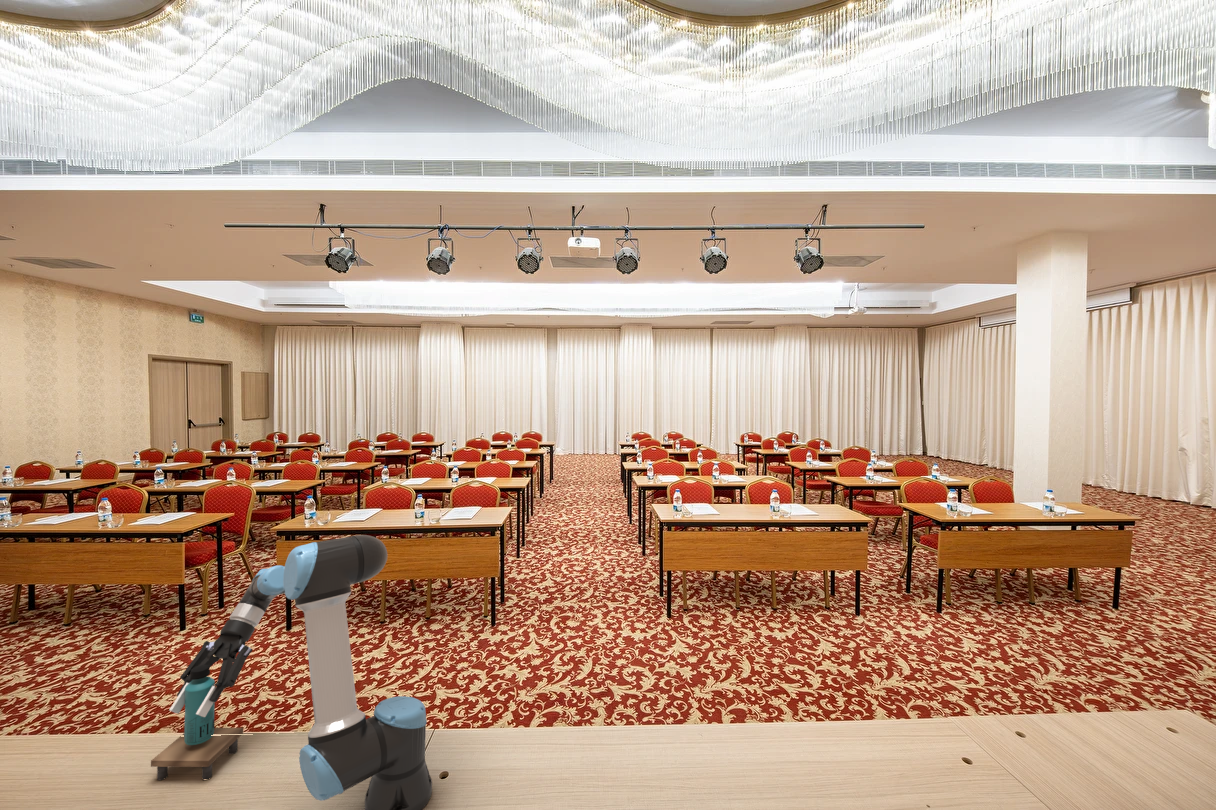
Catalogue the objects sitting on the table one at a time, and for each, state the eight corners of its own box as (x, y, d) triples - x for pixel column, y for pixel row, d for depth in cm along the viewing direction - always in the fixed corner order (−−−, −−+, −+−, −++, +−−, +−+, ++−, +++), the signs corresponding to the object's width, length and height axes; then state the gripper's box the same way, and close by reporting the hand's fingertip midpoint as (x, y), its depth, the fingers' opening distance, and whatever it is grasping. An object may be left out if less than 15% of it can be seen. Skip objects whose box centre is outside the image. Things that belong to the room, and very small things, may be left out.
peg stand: (242, 747, 143) (243, 727, 143) (208, 782, 130) (208, 760, 130) (190, 747, 143) (190, 727, 143) (150, 782, 130) (150, 760, 130)
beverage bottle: (197, 753, 133) (198, 675, 132) (176, 749, 134) (177, 672, 134) (221, 737, 139) (222, 662, 139) (200, 733, 140) (201, 659, 140)
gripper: (280, 632, 150) (230, 722, 134) (219, 625, 153) (163, 713, 137) (265, 621, 144) (211, 714, 129) (203, 614, 148) (143, 704, 132)
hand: (187, 713), depth 133 cm, fingers open, 7 cm apart
